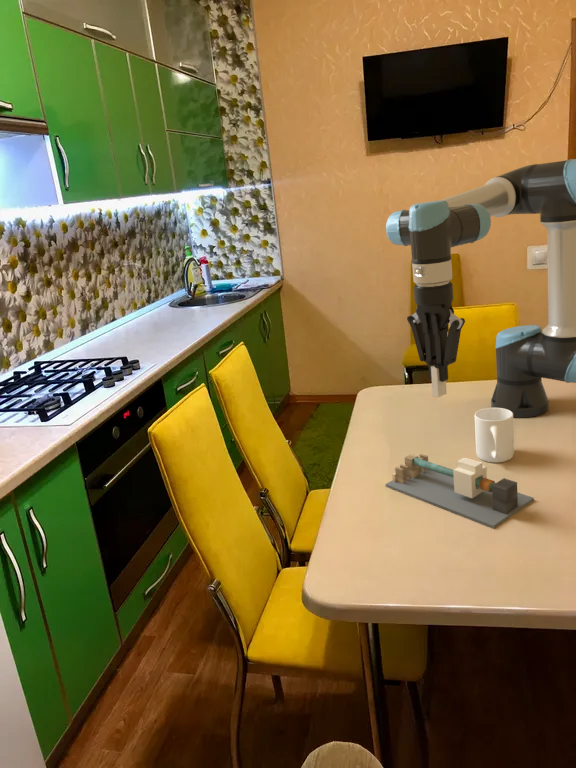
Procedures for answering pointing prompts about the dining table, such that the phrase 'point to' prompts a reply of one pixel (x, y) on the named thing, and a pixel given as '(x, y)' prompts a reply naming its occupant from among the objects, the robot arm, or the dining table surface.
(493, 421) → the mug
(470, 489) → the sleeve
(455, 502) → the mat
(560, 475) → the dining table surface
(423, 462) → the comb rail
